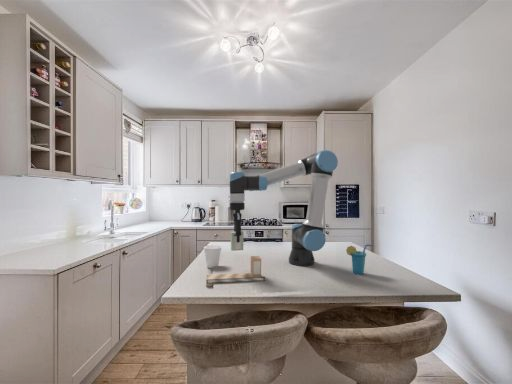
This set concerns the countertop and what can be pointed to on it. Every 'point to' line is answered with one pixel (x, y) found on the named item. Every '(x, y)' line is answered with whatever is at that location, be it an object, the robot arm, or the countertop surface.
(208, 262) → the cup
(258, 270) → the faced carton
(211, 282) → the wavy tan tray
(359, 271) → the cup
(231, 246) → the carton
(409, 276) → the countertop surface
